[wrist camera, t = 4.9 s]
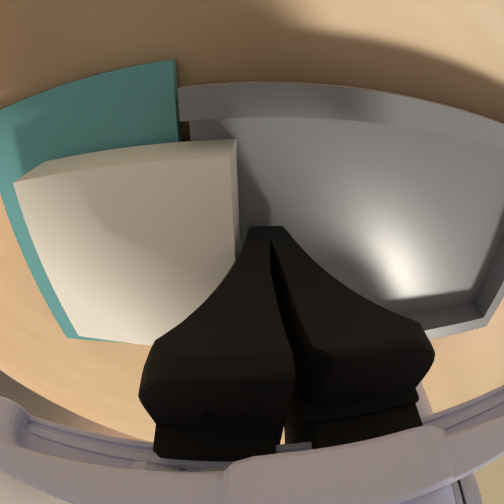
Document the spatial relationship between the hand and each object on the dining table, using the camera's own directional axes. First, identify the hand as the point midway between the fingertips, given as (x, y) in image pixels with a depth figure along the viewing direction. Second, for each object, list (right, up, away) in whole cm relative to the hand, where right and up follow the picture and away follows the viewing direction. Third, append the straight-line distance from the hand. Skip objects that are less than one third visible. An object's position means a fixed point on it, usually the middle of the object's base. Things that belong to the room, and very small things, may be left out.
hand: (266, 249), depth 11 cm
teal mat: (-8, +1, +1) cm, 8 cm away
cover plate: (-5, 0, +1) cm, 5 cm away
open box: (+6, +1, +2) cm, 6 cm away
